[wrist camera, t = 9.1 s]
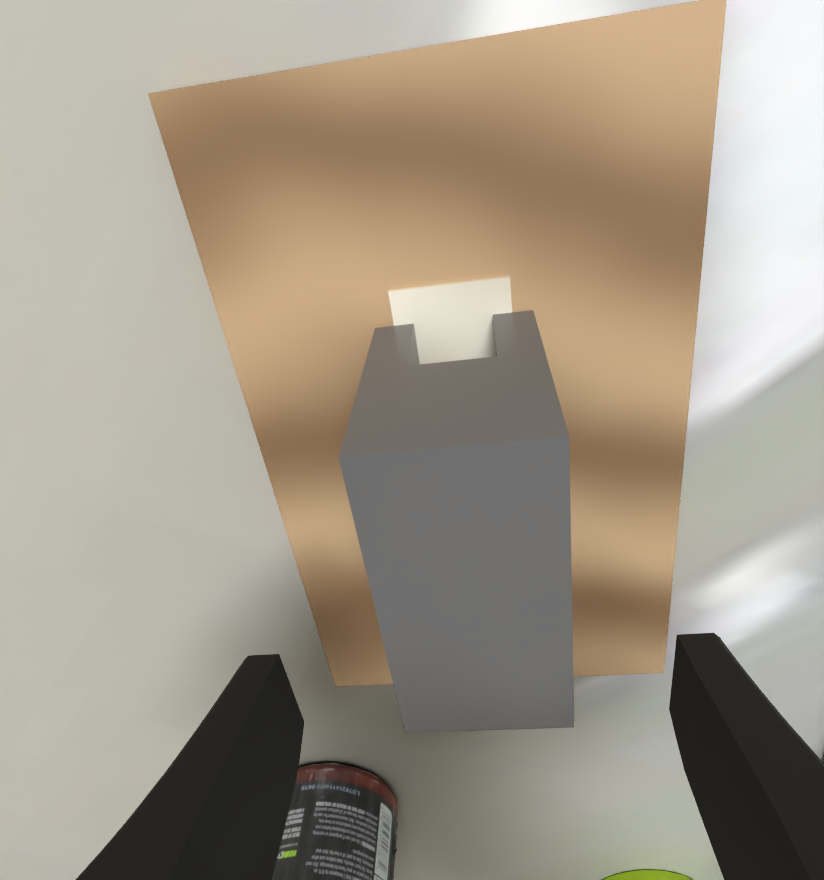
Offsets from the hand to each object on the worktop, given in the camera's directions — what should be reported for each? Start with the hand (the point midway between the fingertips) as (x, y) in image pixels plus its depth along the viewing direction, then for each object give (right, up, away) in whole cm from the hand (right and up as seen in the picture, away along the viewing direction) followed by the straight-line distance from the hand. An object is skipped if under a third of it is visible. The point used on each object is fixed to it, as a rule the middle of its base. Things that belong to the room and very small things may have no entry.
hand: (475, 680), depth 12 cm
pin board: (+1, +5, +7) cm, 9 cm away
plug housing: (0, +4, +6) cm, 8 cm away
